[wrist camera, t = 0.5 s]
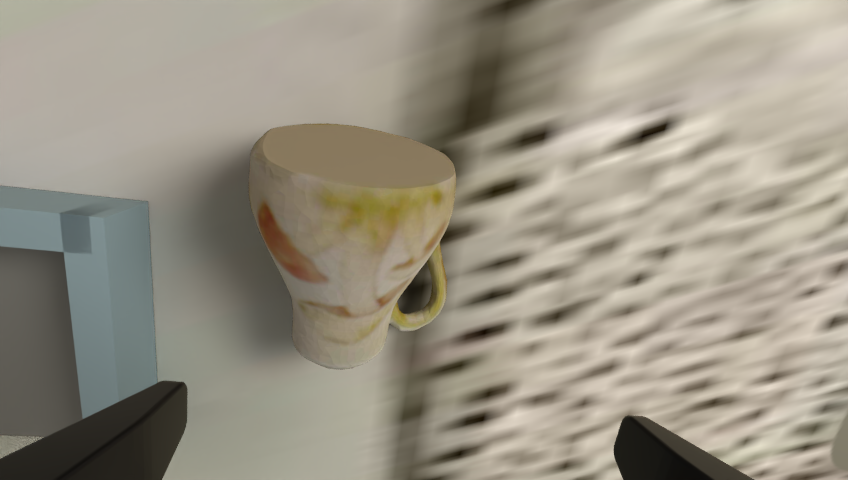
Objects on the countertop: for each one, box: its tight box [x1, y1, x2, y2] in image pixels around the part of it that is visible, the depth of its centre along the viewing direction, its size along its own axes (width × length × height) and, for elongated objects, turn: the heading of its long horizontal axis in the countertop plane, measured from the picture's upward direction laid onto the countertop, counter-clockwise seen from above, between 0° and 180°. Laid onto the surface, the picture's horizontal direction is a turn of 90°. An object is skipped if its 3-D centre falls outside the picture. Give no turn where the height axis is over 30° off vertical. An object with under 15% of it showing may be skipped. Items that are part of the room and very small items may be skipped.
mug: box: [249, 124, 456, 370], centre depth 16 cm, size 8×10×10 cm
